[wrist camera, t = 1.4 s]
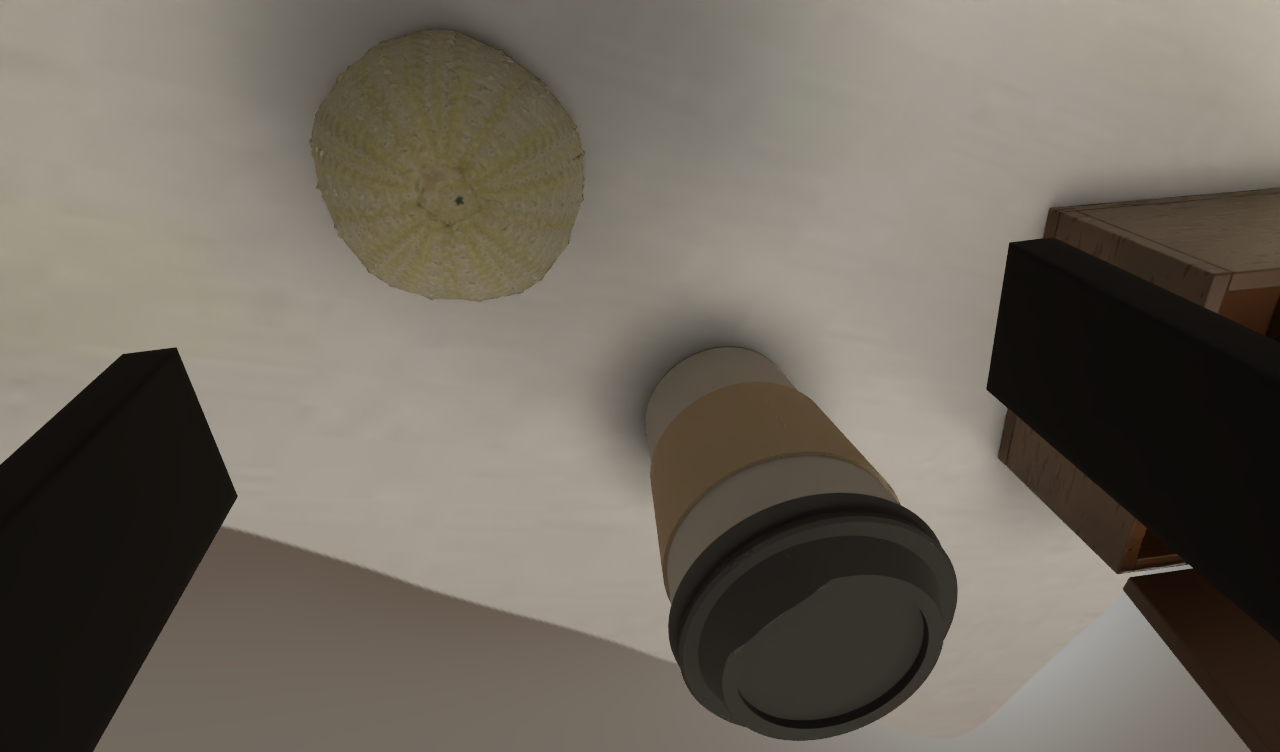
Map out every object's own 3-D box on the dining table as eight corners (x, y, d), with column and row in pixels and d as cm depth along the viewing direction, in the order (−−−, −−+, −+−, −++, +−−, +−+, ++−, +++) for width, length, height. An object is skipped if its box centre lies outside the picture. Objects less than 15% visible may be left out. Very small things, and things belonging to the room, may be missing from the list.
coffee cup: (849, 411, 36) (1042, 659, 22) (705, 525, 37) (804, 815, 24) (734, 283, 32) (885, 490, 18) (580, 416, 34) (617, 691, 20)
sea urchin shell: (448, -58, 23) (568, 126, 21) (551, 82, 31) (649, 229, 28) (231, 121, 24) (319, 313, 22) (380, 213, 32) (459, 364, 29)
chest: (1049, 207, 32) (1214, 274, 24) (1318, 184, 33) (1555, 240, 26) (997, 458, 38) (1117, 575, 30) (1227, 430, 39) (1398, 535, 32)
